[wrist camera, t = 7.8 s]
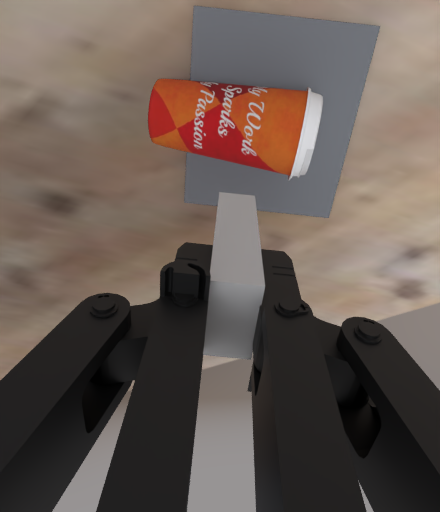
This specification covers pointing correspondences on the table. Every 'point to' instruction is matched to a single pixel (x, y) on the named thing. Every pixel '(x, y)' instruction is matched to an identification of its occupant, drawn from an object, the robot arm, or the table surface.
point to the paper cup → (237, 123)
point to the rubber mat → (283, 77)
